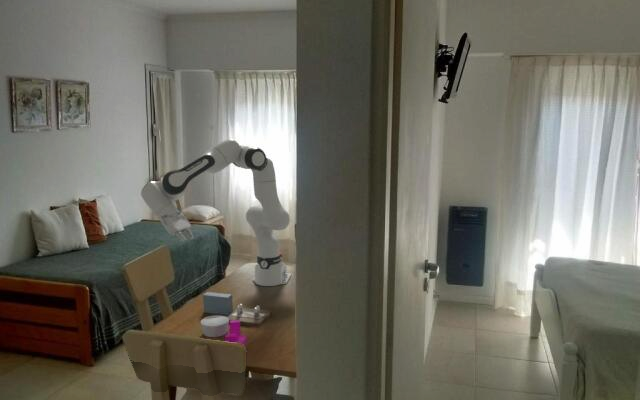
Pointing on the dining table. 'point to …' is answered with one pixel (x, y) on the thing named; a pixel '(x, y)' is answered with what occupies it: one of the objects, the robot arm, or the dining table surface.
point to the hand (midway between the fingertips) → (188, 239)
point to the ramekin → (215, 326)
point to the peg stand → (250, 316)
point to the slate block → (218, 303)
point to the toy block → (235, 333)
